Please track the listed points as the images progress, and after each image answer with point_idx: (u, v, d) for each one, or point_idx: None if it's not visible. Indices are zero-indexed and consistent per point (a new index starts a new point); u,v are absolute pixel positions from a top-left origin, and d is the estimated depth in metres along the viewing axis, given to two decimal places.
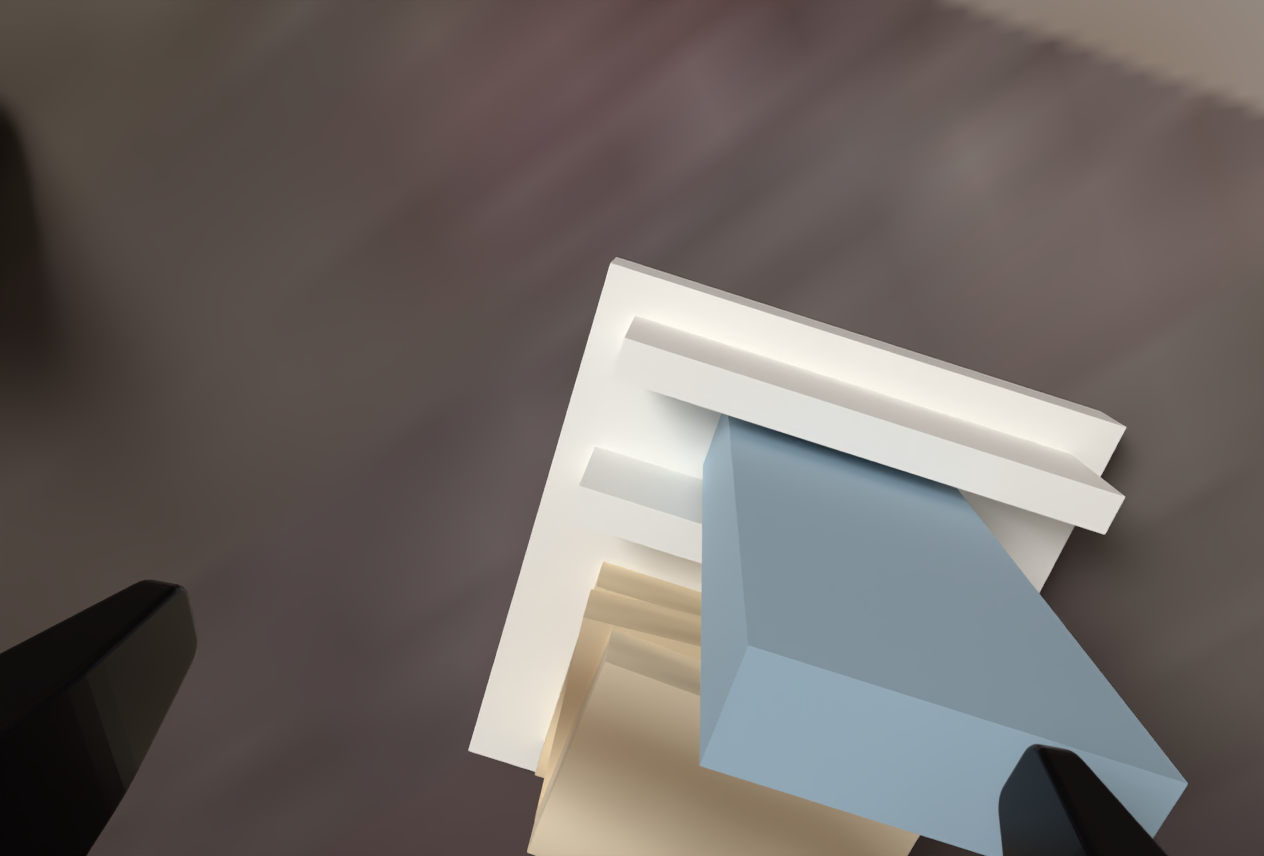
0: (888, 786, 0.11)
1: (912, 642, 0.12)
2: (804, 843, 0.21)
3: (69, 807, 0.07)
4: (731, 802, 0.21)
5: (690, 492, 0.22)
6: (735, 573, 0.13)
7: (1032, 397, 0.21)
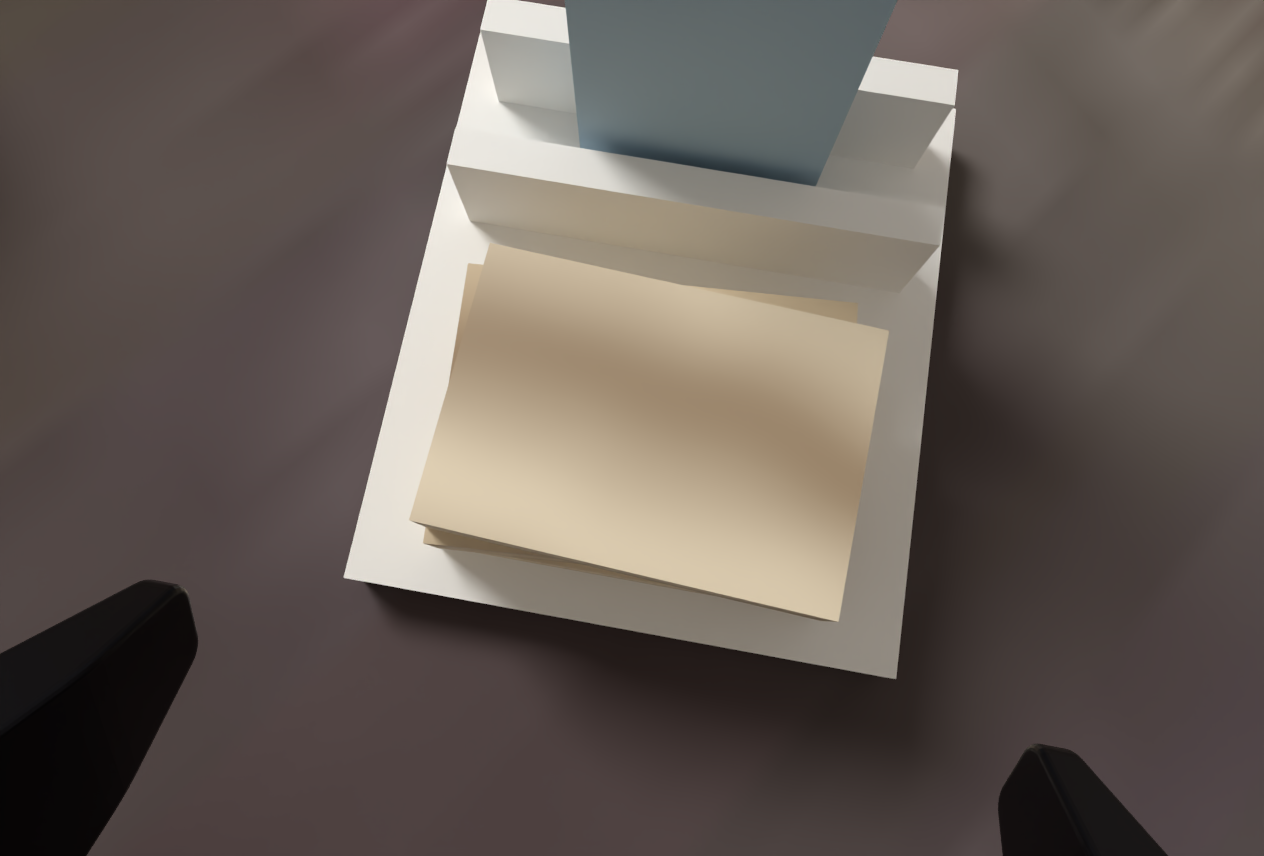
0: None
1: None
2: (749, 438, 0.17)
3: (69, 807, 0.07)
4: (653, 396, 0.17)
5: None
6: None
7: None
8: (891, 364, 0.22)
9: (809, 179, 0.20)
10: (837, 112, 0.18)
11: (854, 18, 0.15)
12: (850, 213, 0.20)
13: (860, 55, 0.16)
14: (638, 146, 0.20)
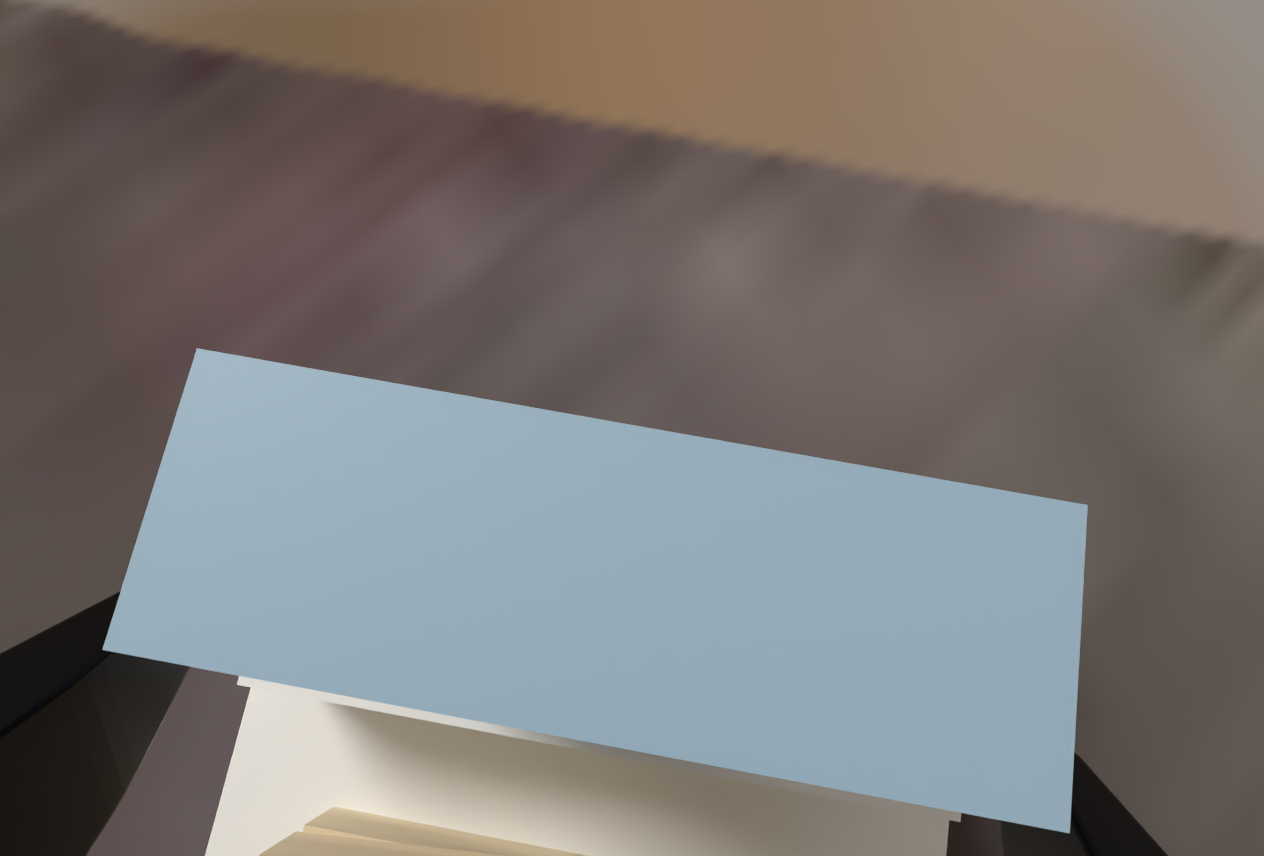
0: (512, 626, 0.05)
1: None
2: None
3: (69, 807, 0.07)
4: None
5: None
6: None
7: None
8: None
9: None
10: None
11: None
12: None
13: None
14: None
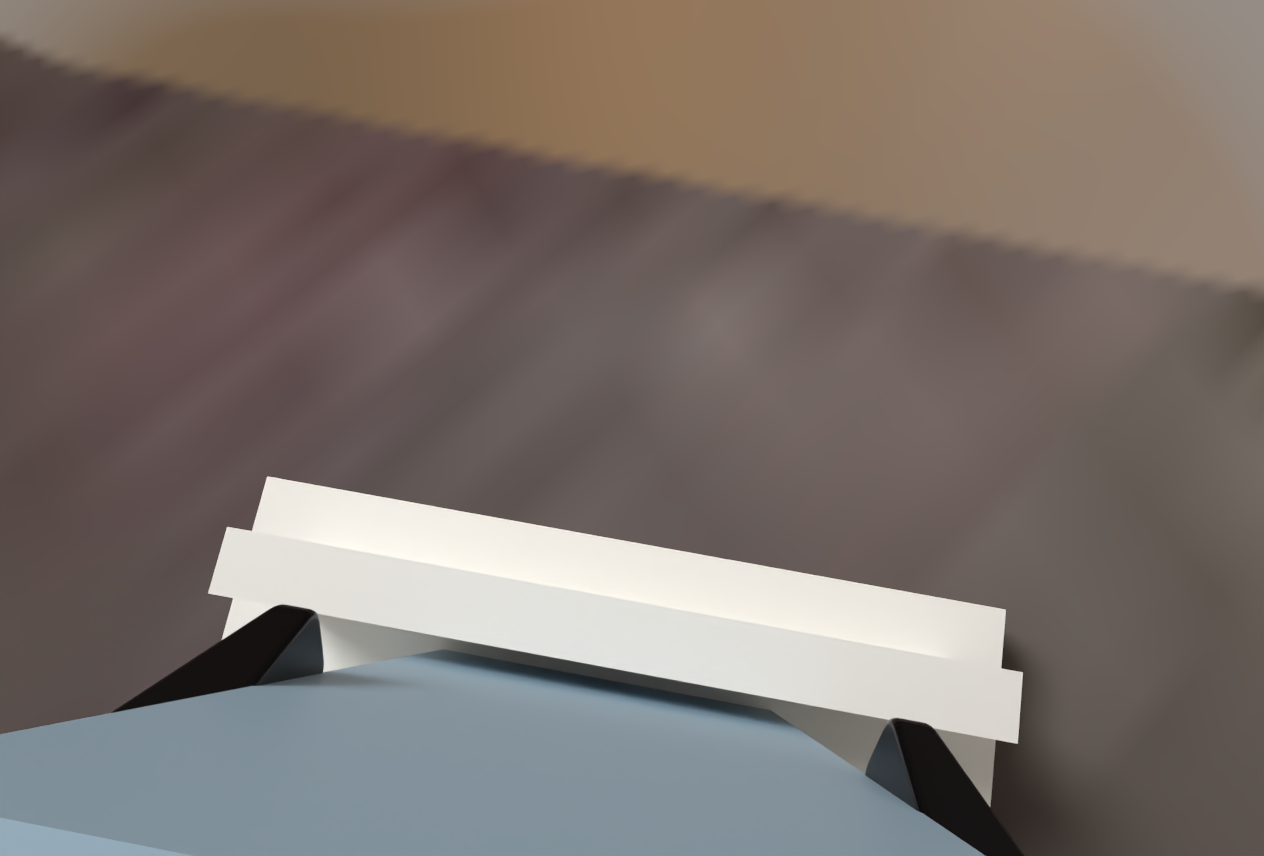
0: None
1: (486, 811, 0.05)
2: None
3: None
4: None
5: None
6: None
7: (867, 585, 0.15)
8: None
9: None
10: None
11: None
12: None
13: None
14: None
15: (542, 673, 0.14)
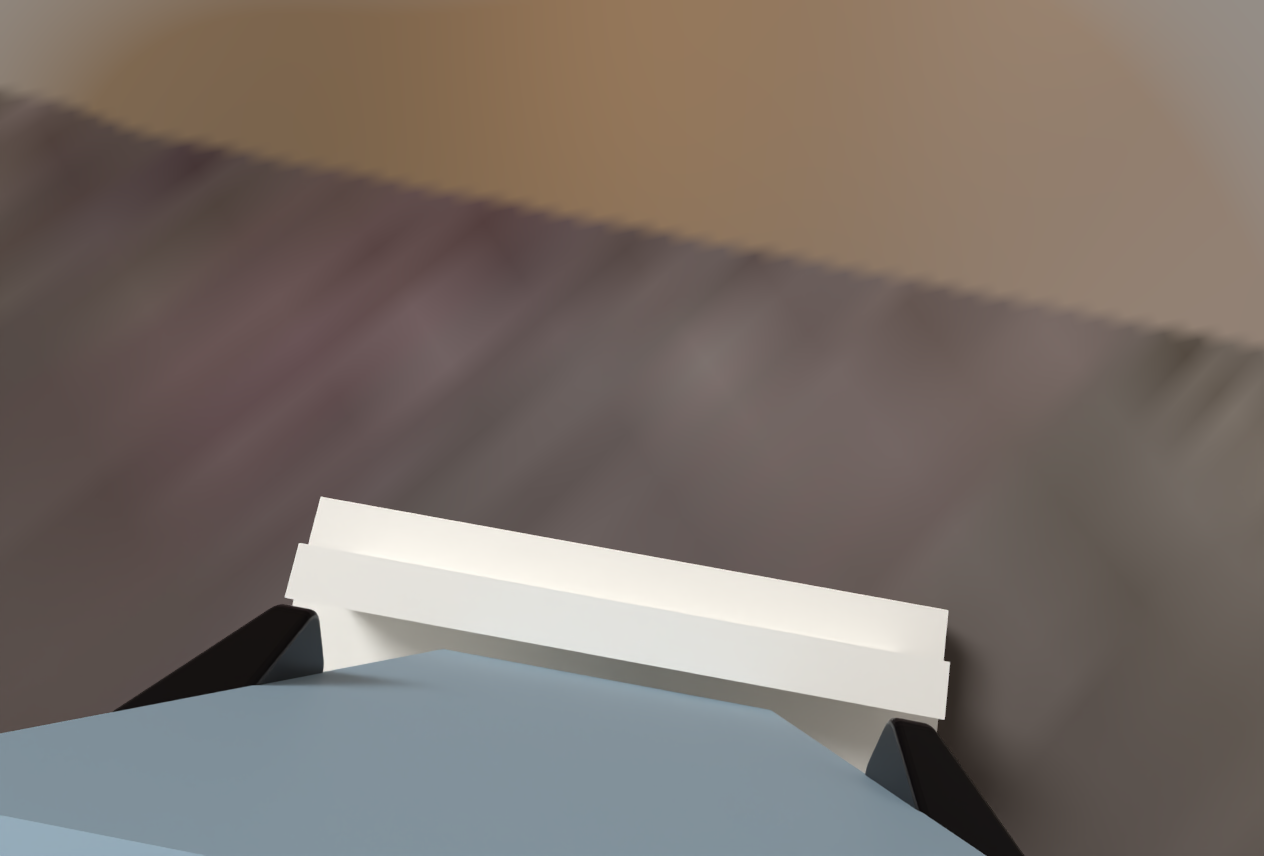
0: None
1: (486, 810, 0.05)
2: None
3: None
4: None
5: None
6: None
7: (831, 589, 0.18)
8: None
9: None
10: None
11: None
12: None
13: None
14: None
15: (542, 673, 0.14)
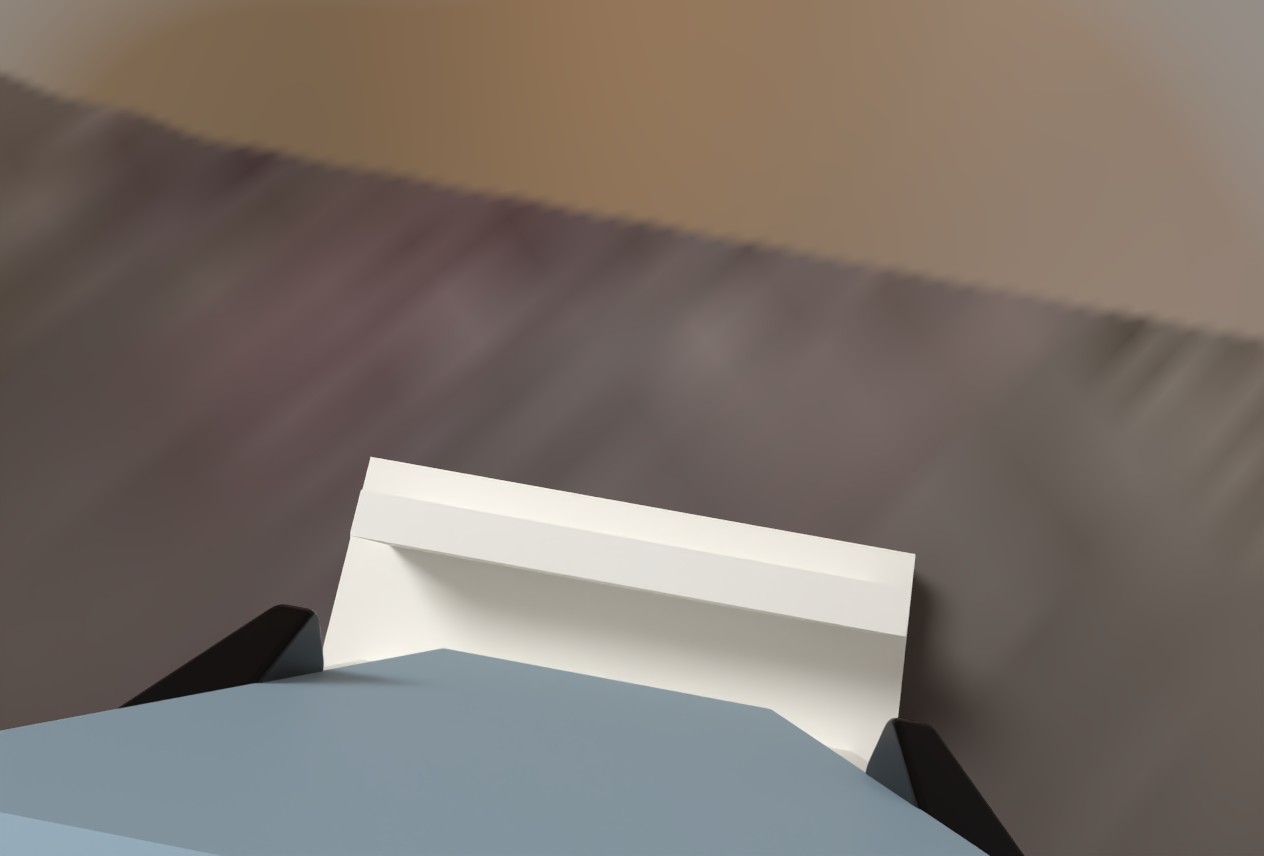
0: None
1: (486, 808, 0.05)
2: None
3: None
4: None
5: None
6: None
7: (814, 536, 0.21)
8: None
9: None
10: None
11: None
12: None
13: None
14: None
15: (542, 672, 0.14)
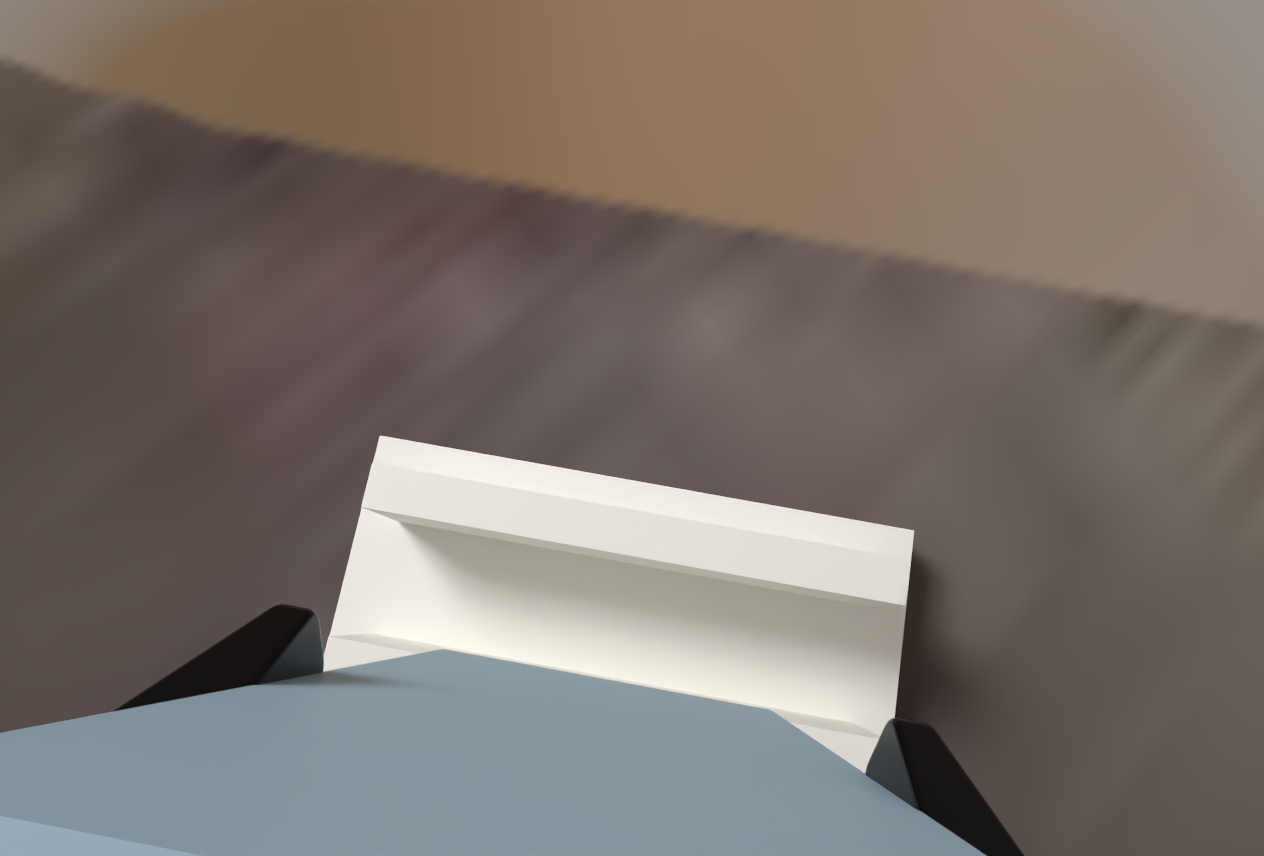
0: None
1: (488, 809, 0.05)
2: None
3: None
4: None
5: None
6: None
7: (815, 513, 0.21)
8: None
9: None
10: None
11: None
12: None
13: None
14: None
15: (542, 673, 0.14)
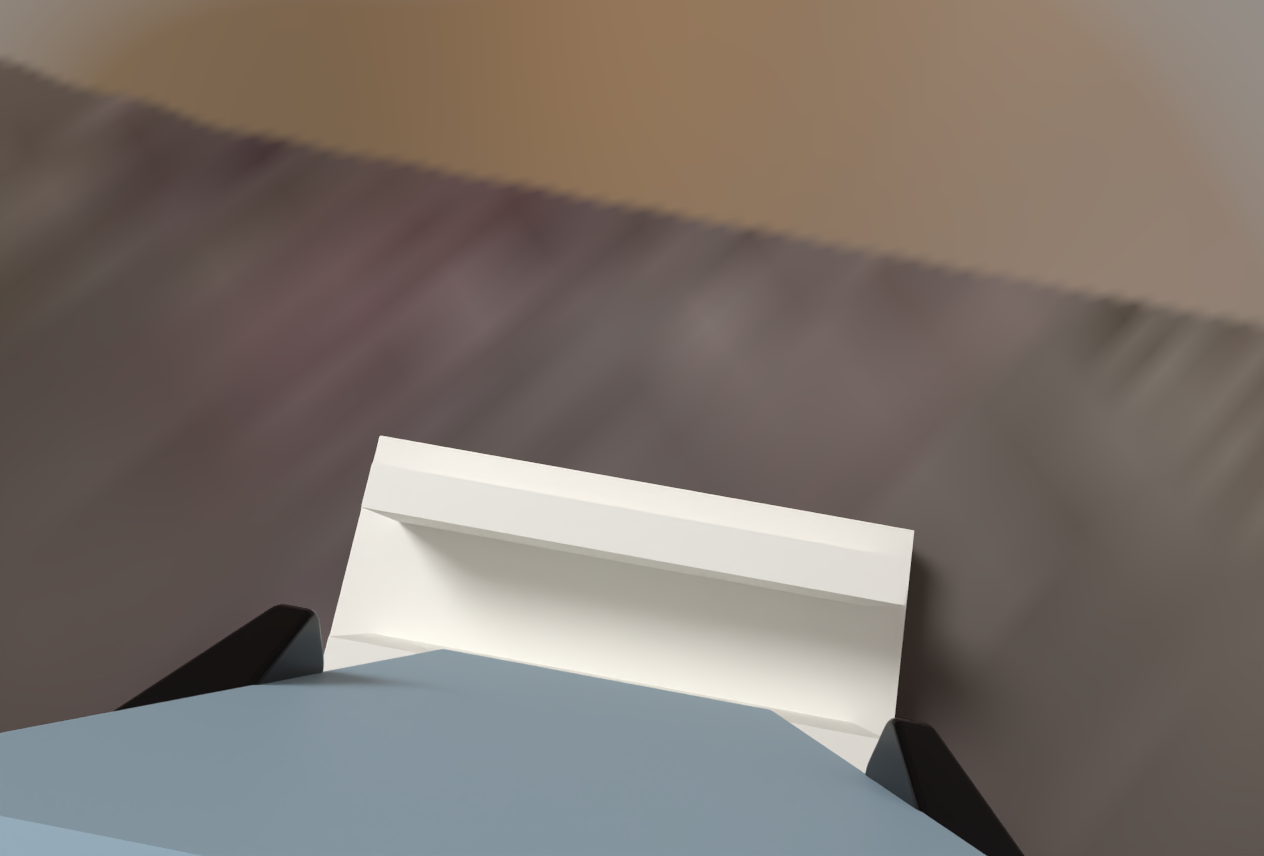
0: None
1: (488, 809, 0.05)
2: None
3: None
4: None
5: None
6: None
7: (815, 513, 0.21)
8: None
9: None
10: None
11: None
12: None
13: None
14: None
15: (542, 673, 0.14)
